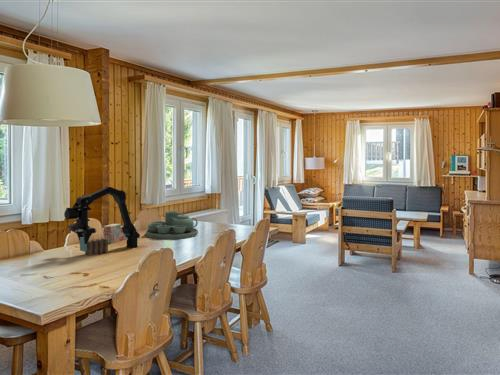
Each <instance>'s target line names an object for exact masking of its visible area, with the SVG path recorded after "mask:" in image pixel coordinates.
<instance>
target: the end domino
mask: <svg viewBox="0 0 500 375" xmlns="http://www.w3.org/2000/svg"><path fill="white" fill-rule="evenodd" d="M80 251H82V252H84V253H85V251H87V244H85V243H84V237H80V241H79V252H80Z"/></svg>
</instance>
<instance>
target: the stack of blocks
mask: <svg viewBox="0 0 500 375" xmlns="http://www.w3.org/2000/svg"><path fill="white" fill-rule="evenodd" d="M121 227H123V225H122V224H121V223H110V224H108V225H103V232H102V233H103V238H104V239H108V245H112V244H115V243H119V242H121V241H125V239H126V240H128V237H126V236H125V234H124V233H123V231H122V228H121Z"/></svg>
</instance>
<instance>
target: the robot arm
mask: <svg viewBox="0 0 500 375" xmlns="http://www.w3.org/2000/svg"><path fill="white" fill-rule="evenodd" d="M106 195H110V196H112V197H113V200H114V201H115V203H116V204H117V206H118V209H119V212H120V217H121V219H122V223H123V225H122V226H123V227H121V228H122V231H123V233H124V234H125V236H126V237H128V239H126V247H127V248H130V249H131V248H139V246H138V239H139V238H140V236H141V235H140V233H139V232H138V231H137V229H136V227H135V225H134V224H133V223H132V221H131V220H132V219H131V216H130V212H129V210H128V208H127V207H128V206H127V204H126V201H127V193H126V192H125V190H122V189H117V188H114V187H112V186H105V187H103V188H101V189H98V190H97V191H95V192H92V193H90V194H87V195H82V196H79V197H76V201H75V203H74V204H73V206H72V207H66V208H65V211H64V215H63V216H64V218H65V220H73V219H74V220H75V222H73V223H72V224H69V225H68V226H67V227H68V229H69V231H70V232H73V233H75V234H76V236H77V238H78V240H79V242H80V237H84V243H85V244H87V242H88V241H90V238H91V236H92V234H96V233H97V229H96V228H94V227H90V225H89V222H90V219H89V211H92V208H91V207H90V205H91V204H93V203H94V201H96V200H98V199H100V198H103V197H105V196H106Z"/></svg>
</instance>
